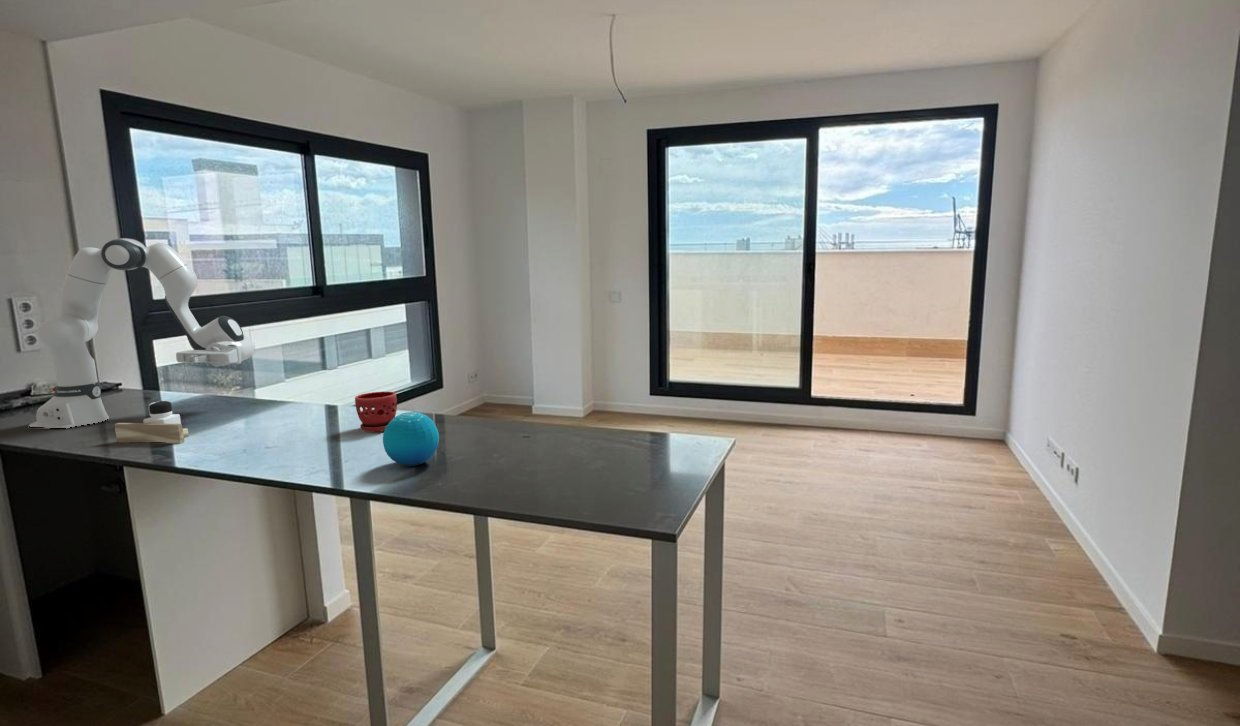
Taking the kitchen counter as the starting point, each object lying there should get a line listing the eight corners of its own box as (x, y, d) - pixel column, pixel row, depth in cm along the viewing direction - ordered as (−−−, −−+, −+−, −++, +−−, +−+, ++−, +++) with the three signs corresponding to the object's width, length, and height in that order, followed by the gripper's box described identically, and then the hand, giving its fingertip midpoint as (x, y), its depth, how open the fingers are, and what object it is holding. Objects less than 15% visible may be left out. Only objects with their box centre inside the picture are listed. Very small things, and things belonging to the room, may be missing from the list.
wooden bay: (138, 435, 213) (136, 417, 212) (199, 436, 211) (197, 418, 210) (117, 442, 205) (114, 424, 204) (180, 443, 203) (178, 425, 202)
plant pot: (405, 424, 223) (403, 390, 221) (385, 434, 210) (383, 399, 208) (371, 423, 225) (368, 389, 223) (349, 433, 212) (346, 398, 210)
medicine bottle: (182, 434, 213) (178, 399, 211) (166, 441, 206) (161, 404, 204) (162, 434, 214) (158, 399, 211) (145, 440, 206) (140, 404, 204)
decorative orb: (431, 453, 190) (428, 403, 187) (447, 466, 177) (444, 414, 175) (379, 462, 182) (375, 411, 179) (392, 477, 170) (387, 422, 167)
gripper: (192, 345, 237) (162, 350, 223) (243, 346, 235) (217, 351, 221) (193, 361, 238) (164, 368, 224) (245, 363, 236) (218, 369, 222)
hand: (190, 360), depth 223 cm, fingers closed
